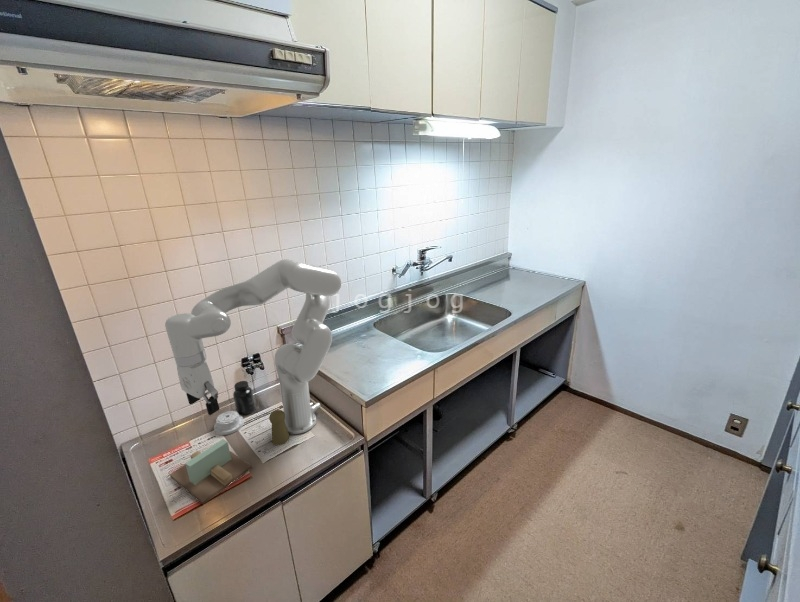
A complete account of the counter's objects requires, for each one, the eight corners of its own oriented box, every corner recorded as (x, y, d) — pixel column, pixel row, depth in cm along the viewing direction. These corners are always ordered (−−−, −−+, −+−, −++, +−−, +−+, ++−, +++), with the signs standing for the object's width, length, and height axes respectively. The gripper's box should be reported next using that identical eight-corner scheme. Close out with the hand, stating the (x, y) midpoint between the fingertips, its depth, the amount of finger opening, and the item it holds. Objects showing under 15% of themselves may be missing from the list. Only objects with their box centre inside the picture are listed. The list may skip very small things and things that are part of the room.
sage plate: (226, 456, 120) (223, 438, 118) (231, 459, 119) (227, 441, 116) (190, 481, 111) (185, 463, 108) (194, 485, 109) (189, 466, 107)
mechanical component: (208, 433, 132) (233, 437, 130) (205, 423, 130) (231, 427, 129) (225, 416, 141) (249, 419, 139) (223, 406, 140) (247, 409, 138)
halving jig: (219, 445, 126) (217, 438, 125) (252, 467, 117) (250, 460, 116) (170, 476, 113) (168, 469, 112) (203, 504, 104) (201, 496, 103)
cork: (270, 435, 130) (266, 409, 127) (288, 431, 133) (285, 405, 129) (272, 447, 125) (267, 420, 121) (290, 442, 127) (286, 415, 123)
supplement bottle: (251, 402, 148) (246, 377, 144) (258, 410, 144) (254, 384, 140) (233, 410, 144) (228, 383, 140) (240, 418, 139) (235, 391, 135)
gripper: (160, 355, 105) (175, 404, 112) (195, 371, 97) (209, 424, 103) (186, 344, 111) (199, 391, 117) (221, 358, 102) (233, 409, 109)
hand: (204, 406), depth 110 cm, fingers open, 9 cm apart
